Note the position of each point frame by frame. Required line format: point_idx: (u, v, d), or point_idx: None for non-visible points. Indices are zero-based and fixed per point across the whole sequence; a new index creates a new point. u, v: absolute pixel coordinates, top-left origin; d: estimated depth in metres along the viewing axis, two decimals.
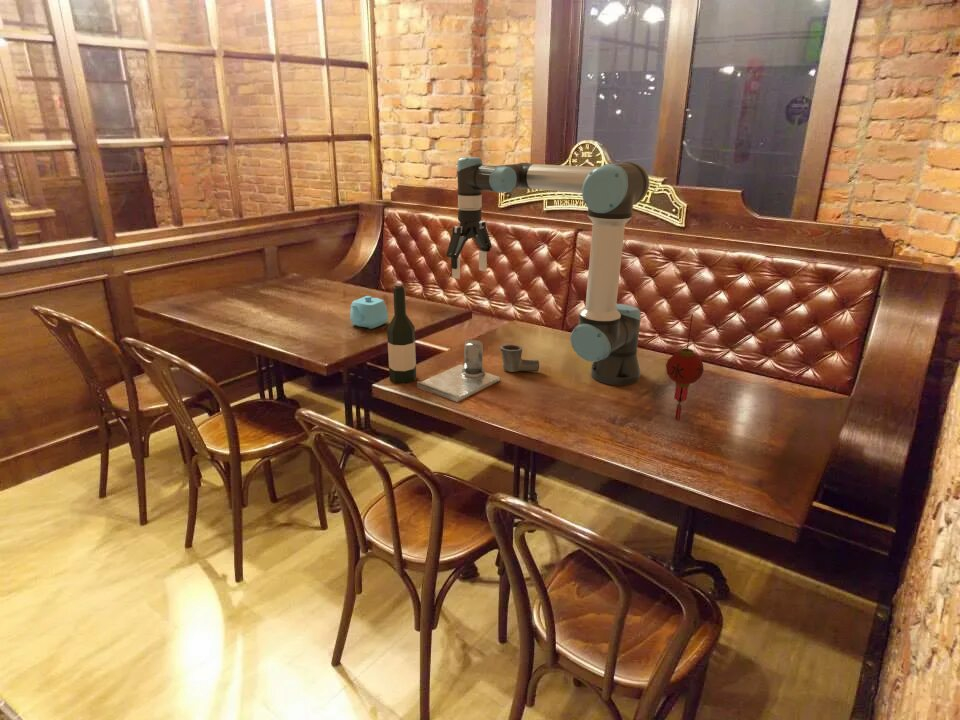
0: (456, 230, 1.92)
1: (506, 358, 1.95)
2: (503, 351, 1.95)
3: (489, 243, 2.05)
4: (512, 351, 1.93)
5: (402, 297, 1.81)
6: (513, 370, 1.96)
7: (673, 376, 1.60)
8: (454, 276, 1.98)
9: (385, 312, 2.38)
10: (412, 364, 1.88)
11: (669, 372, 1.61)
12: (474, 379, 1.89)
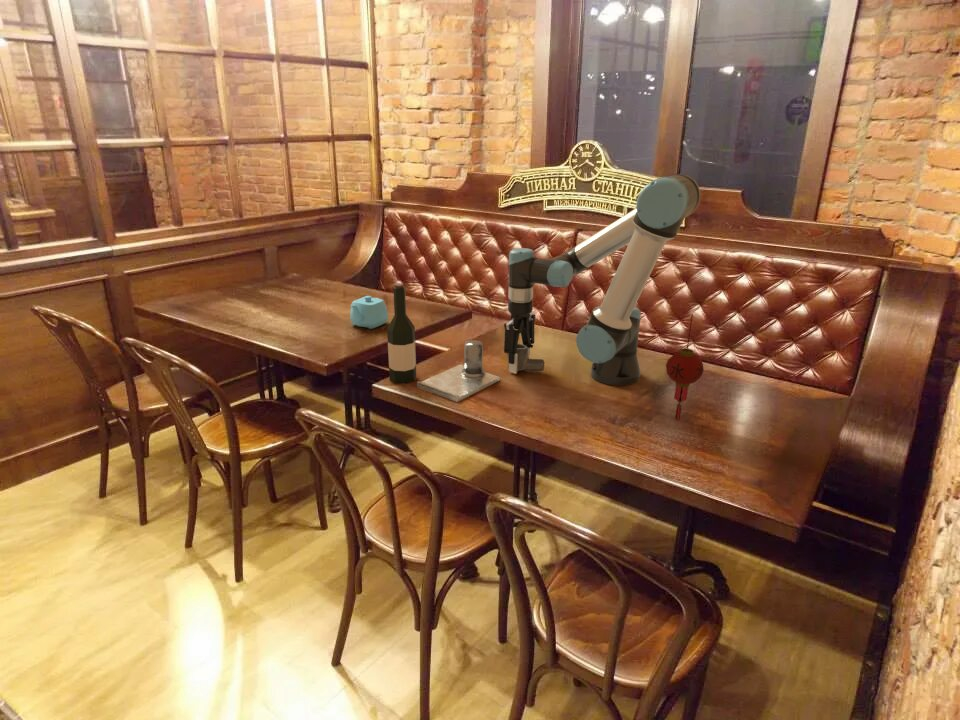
0: (508, 328, 1.87)
1: None
2: None
3: (533, 338, 1.98)
4: (517, 349, 1.93)
5: (402, 297, 1.81)
6: (517, 368, 1.96)
7: (673, 376, 1.60)
8: (511, 370, 1.95)
9: (385, 312, 2.38)
10: (412, 364, 1.88)
11: (669, 372, 1.61)
12: (474, 379, 1.89)
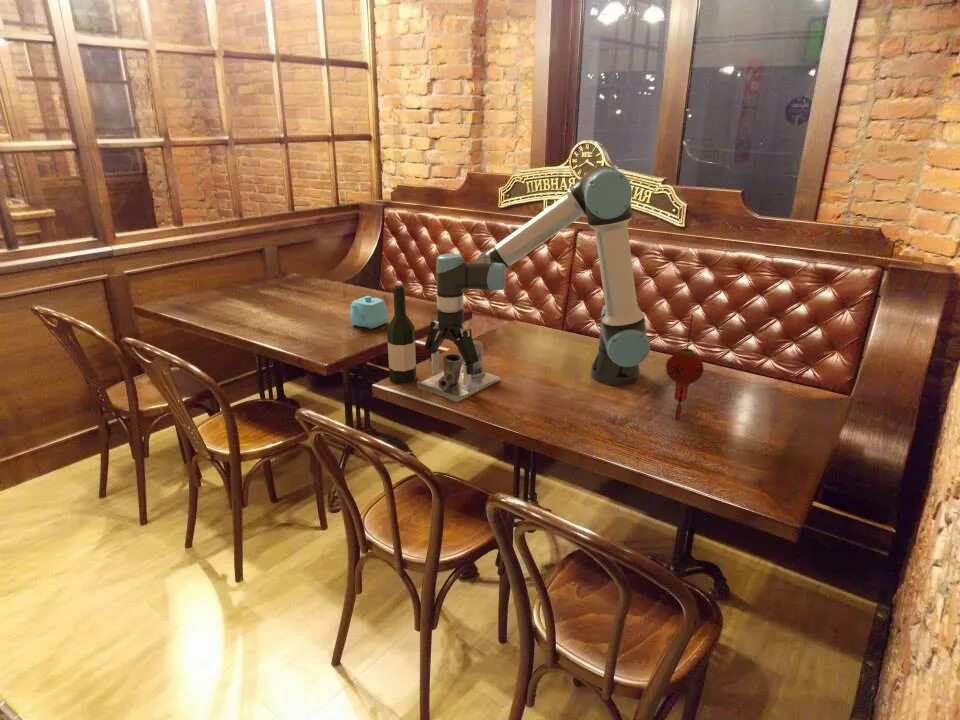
0: None
1: None
2: None
3: (470, 357, 1.76)
4: (443, 357, 1.84)
5: (402, 297, 1.81)
6: None
7: (673, 376, 1.60)
8: None
9: (385, 312, 2.38)
10: (412, 364, 1.88)
11: (669, 372, 1.61)
12: (474, 379, 1.89)
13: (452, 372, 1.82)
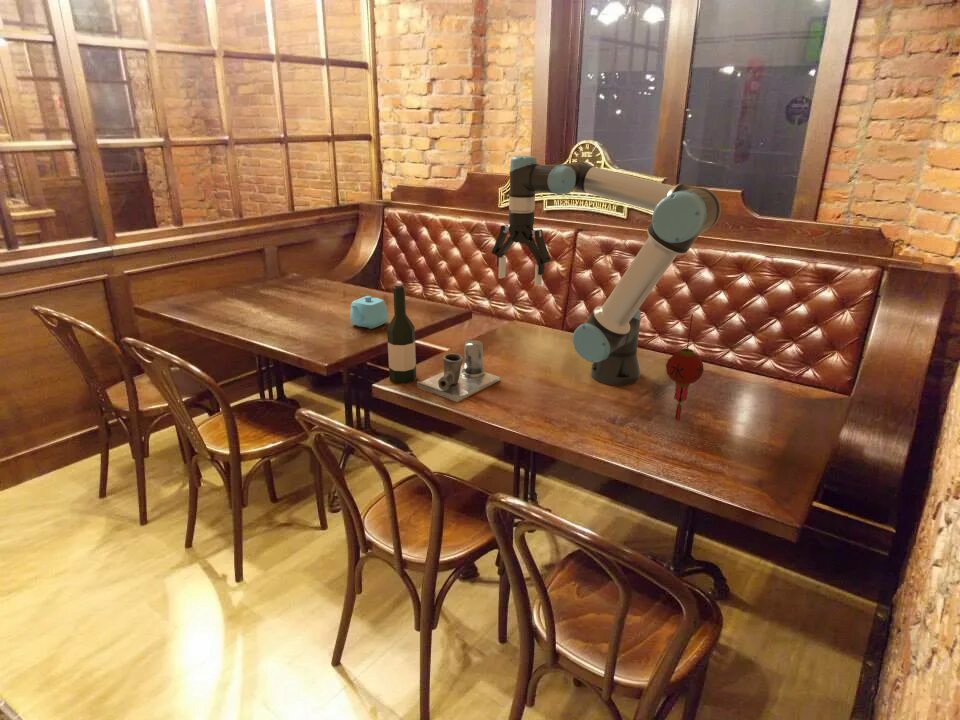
0: None
1: None
2: None
3: (542, 257, 1.81)
4: (443, 357, 1.84)
5: (402, 297, 1.81)
6: None
7: (673, 376, 1.60)
8: None
9: (385, 312, 2.38)
10: (412, 364, 1.88)
11: (669, 372, 1.61)
12: (474, 379, 1.89)
13: (452, 372, 1.82)
